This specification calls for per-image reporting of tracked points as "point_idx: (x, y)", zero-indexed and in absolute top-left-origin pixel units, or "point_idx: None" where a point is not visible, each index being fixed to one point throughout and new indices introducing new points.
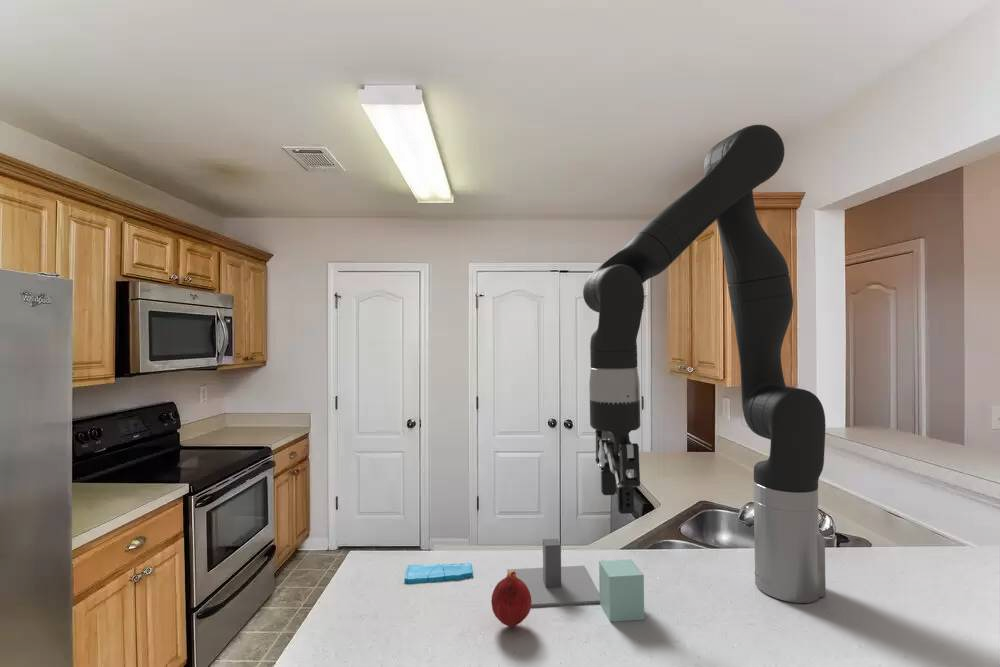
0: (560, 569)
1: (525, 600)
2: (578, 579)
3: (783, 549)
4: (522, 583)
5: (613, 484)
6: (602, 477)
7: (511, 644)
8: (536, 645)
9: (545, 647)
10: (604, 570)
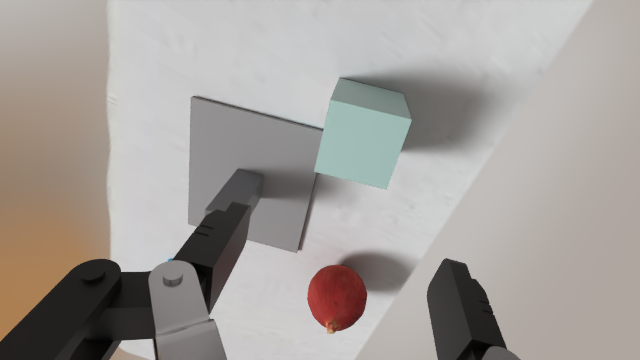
0: (254, 192)
1: (361, 296)
2: (244, 136)
3: None
4: (342, 307)
5: (237, 234)
6: (219, 293)
7: (375, 281)
8: (390, 260)
9: (398, 253)
10: (353, 179)
